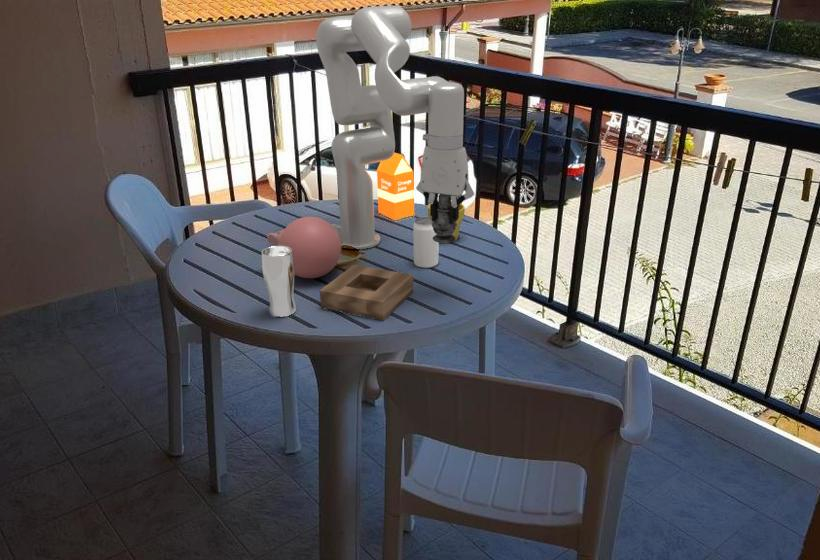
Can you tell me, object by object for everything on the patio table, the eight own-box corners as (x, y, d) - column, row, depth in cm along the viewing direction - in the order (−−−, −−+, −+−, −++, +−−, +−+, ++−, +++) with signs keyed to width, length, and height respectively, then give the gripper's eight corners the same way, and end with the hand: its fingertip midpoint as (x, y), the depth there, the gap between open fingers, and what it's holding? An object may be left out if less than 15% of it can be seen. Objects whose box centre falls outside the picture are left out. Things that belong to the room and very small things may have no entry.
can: (442, 261, 181) (442, 218, 176) (432, 270, 176) (432, 226, 171) (419, 257, 184) (419, 215, 179) (409, 266, 178) (408, 222, 173)
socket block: (321, 308, 157) (319, 290, 155) (354, 281, 170) (353, 264, 169) (383, 320, 151) (382, 302, 149) (413, 291, 164) (413, 274, 162)
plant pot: (465, 233, 200) (466, 200, 196) (462, 246, 191) (462, 212, 187) (430, 231, 202) (430, 199, 198) (425, 244, 193) (425, 211, 188)
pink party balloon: (288, 257, 185) (282, 203, 179) (353, 268, 178) (350, 212, 171) (254, 279, 172) (247, 222, 166) (323, 292, 165) (318, 232, 158)
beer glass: (284, 322, 151) (277, 259, 145) (261, 314, 155) (253, 253, 149) (304, 309, 157) (299, 248, 151) (281, 302, 160) (275, 242, 154)
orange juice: (397, 209, 221) (396, 147, 213) (414, 216, 214) (413, 153, 206) (378, 214, 216) (375, 152, 208) (394, 221, 210) (393, 157, 202)
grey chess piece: (454, 244, 156) (456, 193, 151) (429, 242, 157) (429, 192, 152) (458, 234, 161) (459, 185, 156) (433, 233, 162) (434, 184, 157)
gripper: (403, 142, 149) (404, 221, 157) (475, 149, 143) (473, 231, 151) (417, 134, 155) (417, 211, 163) (487, 141, 149) (484, 220, 157)
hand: (444, 220), depth 157 cm, fingers closed on grey chess piece, 3 cm apart
